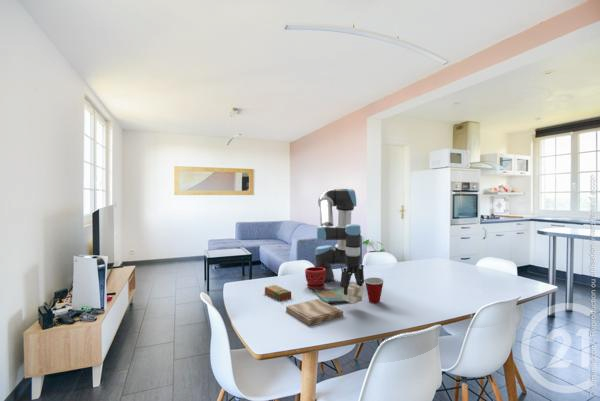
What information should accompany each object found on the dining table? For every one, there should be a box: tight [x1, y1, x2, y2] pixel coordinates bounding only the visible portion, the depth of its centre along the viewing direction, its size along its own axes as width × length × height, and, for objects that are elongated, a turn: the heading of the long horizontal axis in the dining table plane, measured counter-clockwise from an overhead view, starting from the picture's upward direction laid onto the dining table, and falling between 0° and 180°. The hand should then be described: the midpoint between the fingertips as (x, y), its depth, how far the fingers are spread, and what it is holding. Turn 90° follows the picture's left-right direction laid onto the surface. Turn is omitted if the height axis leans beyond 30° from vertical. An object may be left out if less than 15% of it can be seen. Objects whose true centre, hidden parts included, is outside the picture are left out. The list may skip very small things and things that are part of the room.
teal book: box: [313, 287, 351, 306], centre depth 169 cm, size 17×23×2 cm
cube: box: [342, 283, 363, 304], centre depth 150 cm, size 7×7×7 cm
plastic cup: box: [364, 277, 385, 304], centre depth 162 cm, size 11×11×12 cm
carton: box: [264, 284, 292, 302], centre depth 170 cm, size 8×16×4 cm, turn 38°
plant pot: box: [304, 266, 326, 290], centre depth 187 cm, size 13×13×12 cm
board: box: [285, 298, 344, 327], centre depth 144 cm, size 20×20×3 cm
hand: (352, 299), depth 150 cm, fingers closed on cube, 7 cm apart
